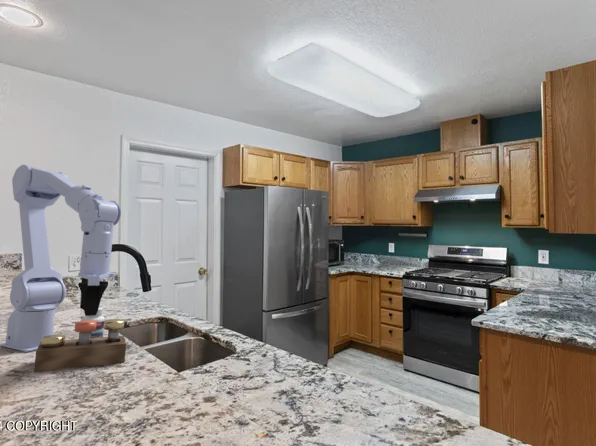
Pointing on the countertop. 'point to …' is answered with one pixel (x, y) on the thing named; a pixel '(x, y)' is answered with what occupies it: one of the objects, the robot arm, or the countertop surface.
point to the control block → (80, 354)
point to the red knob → (85, 331)
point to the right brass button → (113, 329)
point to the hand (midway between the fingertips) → (90, 314)
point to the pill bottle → (100, 323)
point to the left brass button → (53, 341)
